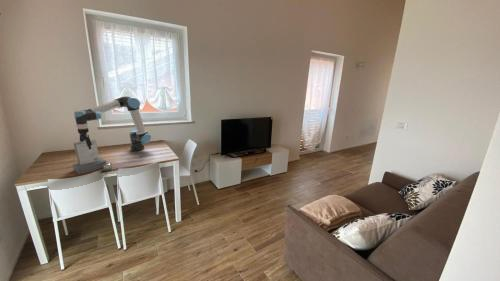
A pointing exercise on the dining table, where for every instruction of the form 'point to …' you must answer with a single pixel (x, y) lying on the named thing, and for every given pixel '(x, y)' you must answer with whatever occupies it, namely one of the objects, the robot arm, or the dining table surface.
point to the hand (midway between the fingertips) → (87, 150)
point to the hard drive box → (86, 152)
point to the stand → (88, 166)
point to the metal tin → (107, 166)
